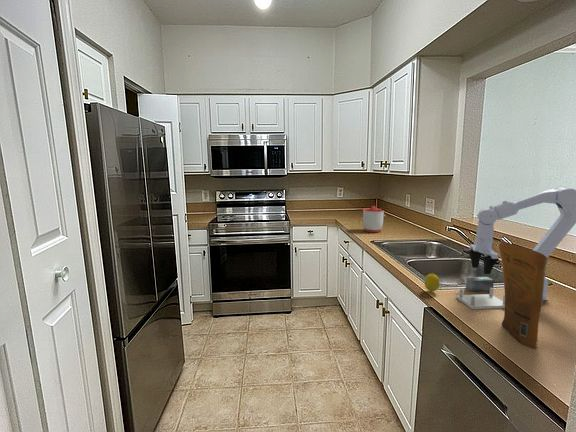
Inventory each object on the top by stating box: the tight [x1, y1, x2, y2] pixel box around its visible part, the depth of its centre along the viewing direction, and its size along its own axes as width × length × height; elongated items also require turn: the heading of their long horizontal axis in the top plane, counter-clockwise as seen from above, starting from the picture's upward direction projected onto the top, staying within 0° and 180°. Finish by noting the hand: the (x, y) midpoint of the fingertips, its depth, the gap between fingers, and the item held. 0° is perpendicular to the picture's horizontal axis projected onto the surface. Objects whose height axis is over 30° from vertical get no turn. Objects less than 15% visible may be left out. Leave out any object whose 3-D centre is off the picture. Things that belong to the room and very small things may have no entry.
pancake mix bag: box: [498, 240, 549, 349], centre depth 96 cm, size 7×19×28 cm, turn 173°
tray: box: [456, 287, 505, 310], centre depth 120 cm, size 14×10×4 cm
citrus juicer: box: [362, 205, 387, 233], centre depth 243 cm, size 16×17×20 cm
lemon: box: [424, 272, 441, 293], centre depth 130 cm, size 6×6×8 cm
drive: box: [465, 276, 495, 293], centre depth 132 cm, size 9×4×5 cm, turn 94°
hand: (480, 270), depth 131 cm, fingers open, 7 cm apart
